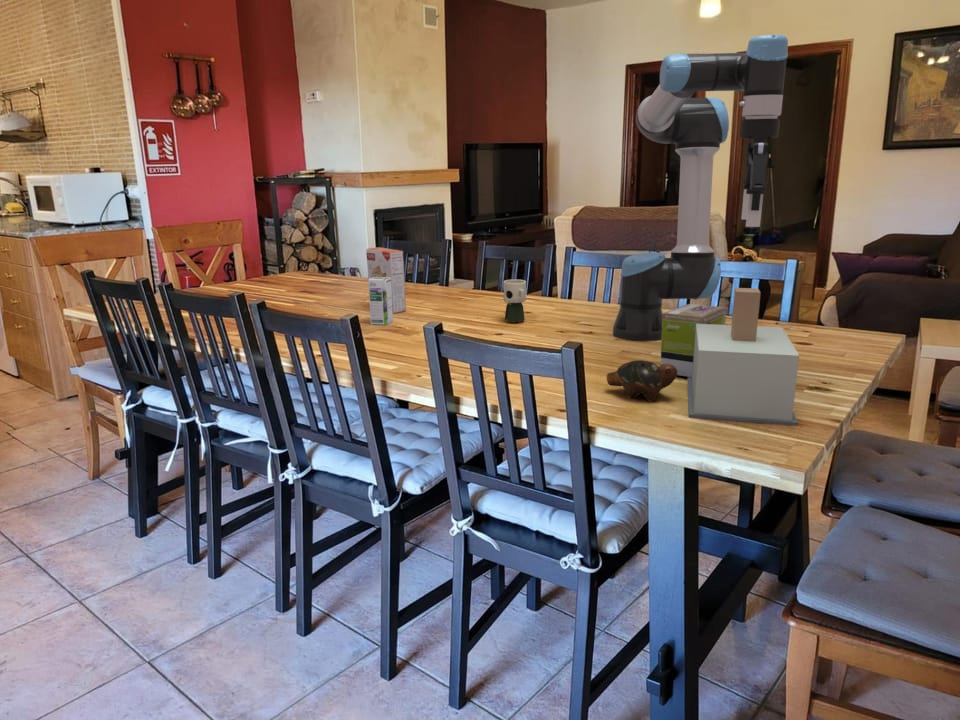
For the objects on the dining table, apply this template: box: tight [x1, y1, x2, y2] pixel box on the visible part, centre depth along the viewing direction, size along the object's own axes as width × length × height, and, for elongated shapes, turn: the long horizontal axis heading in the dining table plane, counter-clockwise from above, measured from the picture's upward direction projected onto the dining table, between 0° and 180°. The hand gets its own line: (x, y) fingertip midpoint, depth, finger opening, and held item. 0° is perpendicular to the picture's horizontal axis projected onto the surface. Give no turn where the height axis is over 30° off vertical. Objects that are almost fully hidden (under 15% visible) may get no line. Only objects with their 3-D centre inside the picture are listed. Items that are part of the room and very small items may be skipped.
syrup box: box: [367, 277, 394, 326], centre depth 220 cm, size 6×6×14 cm
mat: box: [687, 377, 799, 427], centre depth 147 cm, size 25×20×1 cm
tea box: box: [659, 303, 727, 378], centre depth 166 cm, size 15×10×15 cm, turn 141°
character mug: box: [502, 279, 527, 324], centre depth 219 cm, size 11×7×13 cm, turn 26°
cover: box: [692, 287, 800, 421], centre depth 144 cm, size 23×18×23 cm
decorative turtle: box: [606, 359, 678, 402], centre depth 151 cm, size 10×15×8 cm, turn 69°
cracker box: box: [365, 246, 407, 315], centre depth 238 cm, size 14×6×21 cm, turn 42°
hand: (750, 223), depth 150 cm, fingers open, 13 cm apart
